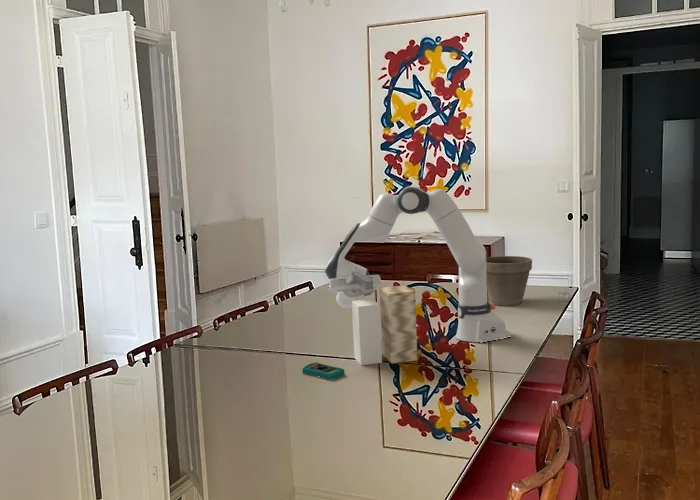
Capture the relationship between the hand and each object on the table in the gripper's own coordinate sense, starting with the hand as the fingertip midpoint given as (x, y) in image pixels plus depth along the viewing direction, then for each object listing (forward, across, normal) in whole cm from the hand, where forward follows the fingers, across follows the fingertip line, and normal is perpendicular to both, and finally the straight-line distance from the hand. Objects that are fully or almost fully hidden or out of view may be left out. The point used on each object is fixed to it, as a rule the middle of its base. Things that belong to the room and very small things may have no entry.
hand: (358, 276), depth 265 cm
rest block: (-8, 0, +31) cm, 32 cm away
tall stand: (-7, +12, +31) cm, 34 cm away
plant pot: (-62, +87, -1) cm, 107 cm away
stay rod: (+4, 0, +5) cm, 6 cm away
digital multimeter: (0, -19, +36) cm, 41 cm away
